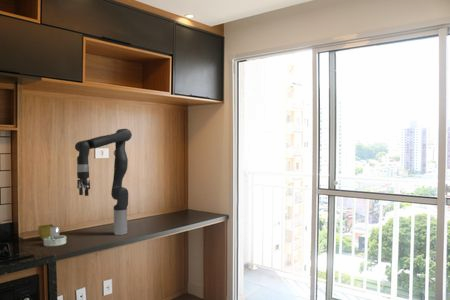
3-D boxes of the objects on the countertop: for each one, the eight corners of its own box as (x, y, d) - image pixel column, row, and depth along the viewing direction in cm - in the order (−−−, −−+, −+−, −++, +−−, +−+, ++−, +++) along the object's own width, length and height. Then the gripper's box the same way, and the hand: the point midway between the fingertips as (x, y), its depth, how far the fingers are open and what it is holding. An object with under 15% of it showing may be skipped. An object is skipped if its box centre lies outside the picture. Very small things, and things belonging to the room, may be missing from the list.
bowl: (47, 242, 239) (47, 235, 239) (68, 240, 242) (68, 234, 242) (41, 246, 226) (41, 240, 226) (63, 245, 229) (63, 239, 229)
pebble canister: (51, 241, 236) (51, 225, 236) (60, 241, 237) (60, 225, 237) (49, 243, 231) (49, 227, 231) (58, 242, 232) (58, 227, 232)
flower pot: (40, 241, 242) (40, 227, 242) (37, 239, 249) (37, 225, 249) (54, 239, 247) (54, 226, 247) (51, 237, 254) (51, 224, 254)
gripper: (93, 171, 242) (94, 195, 242) (83, 170, 252) (84, 194, 252) (82, 171, 237) (82, 196, 237) (73, 171, 247) (73, 195, 247)
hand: (83, 195), depth 245 cm, fingers open, 8 cm apart
